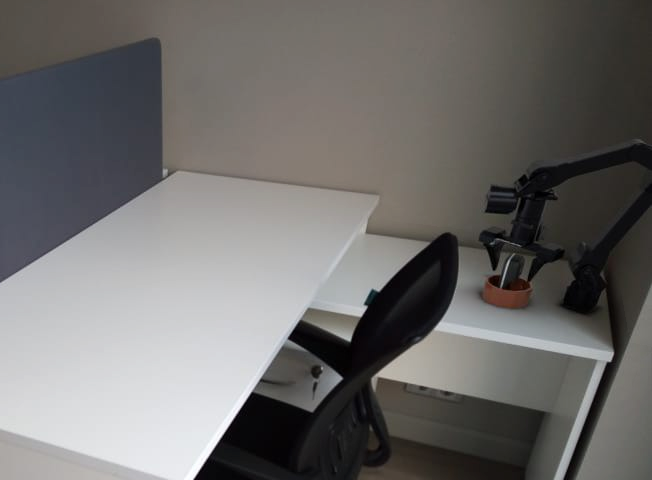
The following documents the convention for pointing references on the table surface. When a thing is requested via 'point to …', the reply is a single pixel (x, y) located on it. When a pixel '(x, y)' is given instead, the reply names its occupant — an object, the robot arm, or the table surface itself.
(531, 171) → the robot arm
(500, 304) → the bowl
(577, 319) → the table surface
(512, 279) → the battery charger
